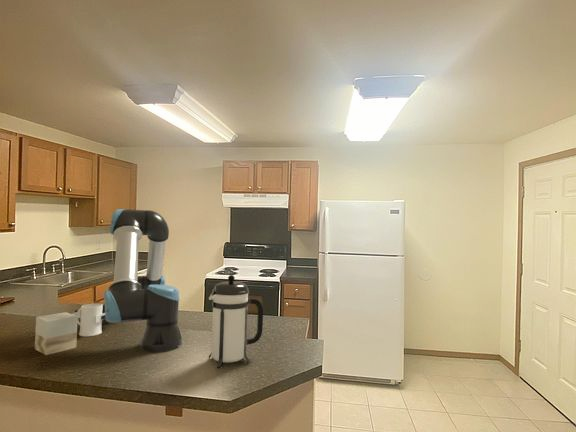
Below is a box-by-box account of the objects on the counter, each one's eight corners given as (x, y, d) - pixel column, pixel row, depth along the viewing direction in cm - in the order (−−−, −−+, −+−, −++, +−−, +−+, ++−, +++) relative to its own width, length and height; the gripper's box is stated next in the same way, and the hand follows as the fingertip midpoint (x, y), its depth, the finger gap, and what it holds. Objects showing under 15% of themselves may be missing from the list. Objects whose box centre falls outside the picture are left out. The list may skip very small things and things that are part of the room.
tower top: (76, 332, 127) (77, 316, 127) (46, 338, 119) (47, 321, 119) (65, 327, 133) (66, 312, 133) (35, 333, 125) (36, 316, 125)
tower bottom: (76, 348, 127) (77, 332, 127) (45, 355, 119) (46, 338, 119) (64, 342, 133) (65, 327, 133) (34, 349, 124) (35, 333, 125)
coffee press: (240, 373, 107) (242, 279, 109) (197, 365, 113) (201, 275, 114) (262, 355, 124) (264, 273, 125) (224, 349, 129) (227, 270, 131)
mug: (67, 334, 142) (69, 305, 142) (84, 329, 150) (86, 302, 151) (90, 337, 139) (92, 308, 139) (106, 331, 147) (108, 304, 148)
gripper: (136, 316, 161) (107, 329, 140) (91, 314, 164) (55, 326, 142) (137, 300, 162) (108, 311, 140) (91, 298, 164) (56, 308, 143)
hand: (81, 318), depth 141 cm, fingers closed on mug, 11 cm apart
